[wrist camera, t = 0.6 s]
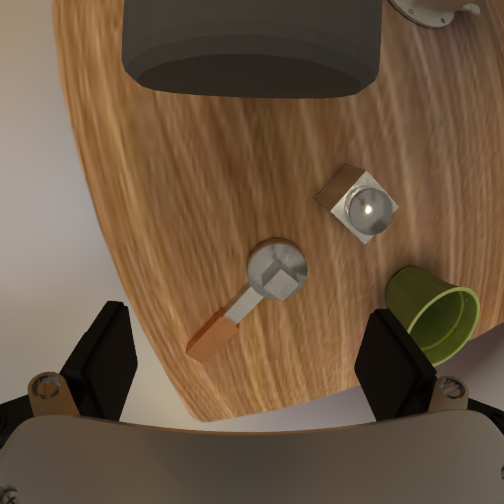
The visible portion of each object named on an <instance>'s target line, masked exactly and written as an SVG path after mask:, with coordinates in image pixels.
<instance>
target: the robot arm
mask: <svg viewBox="0 0 504 504" xmlns="http://www.w3.org/2000/svg"><path fill="white" fill-rule="evenodd" d="M389 1H390V2H391V4H392V5H393V6H394V7H395V8H396V9H397V10H398V11H399V12H401V13H402V14H403V15H404V16H406V17H407V18H409V19H410V20H412V21H413V22H415V23H417V24H419V25H422V26H425V27H429V28H440V27H444V26H446V25H448V24H449V23H450V22H451V21H452V20H453V18H454V14H455V11H457V10H459V11H466V12H468V13H470V14H473V15H475V16H478V15H479V14H480V8H479V7H478V6H477V5H475V4H473V3H472V2H475V1H477V0H389ZM137 362H138V361H137V356H136V350H135V345H134V340H133V334H132V329H131V323H130V317H129V310H128V307H127V306H124V304H123V302H118V301H107V303H106V304H105V305H104V307H103V308H102V310H101V311H100V313H99V314H98V316H97V317H96V319H95V320H94V322H93V323H92V325H91V326H90V328H89V329H88V331H87V332H85V333H84V335H83V336H82V338H81V339H80V341H79V342H78V344H77V345H76V347H75V349H74V350H73V352H72V353H71V355H70V356H69V358H68V360H67V361H66V363H65V365H64V366H63V368H62V370H61V371H60V373H55V372H44V373H41V374H38V375H36V376H35V377H34V378H32V380H31V381H30V383H29V385H28V394H27V395H25V396H22V397H19V398H17V399H14V400H11V401H8V402H5V403H3V404H0V504H504V412H503V411H501V410H499V409H497V408H494V407H491V406H489V405H486V404H483V403H481V402H478V401H476V400H473V399H470V398H468V395H469V391H468V388H467V386H466V384H465V383H464V382H462V381H461V380H460V379H458V378H456V377H453V376H442V377H440V378H439V379H437V377H436V376H435V374H436V373H437V371H436V370H435V368H434V367H433V365H432V364H431V363H430V361H429V360H428V359H427V357H426V356H425V354H424V353H423V352H422V350H421V349H420V348H419V346H418V345H417V344H416V342H415V341H414V340H413V338H412V337H411V336H410V335H409V333H408V332H407V331H406V329H405V328H404V327H403V325H402V324H401V323H400V322H399V320H398V319H397V318H396V316H395V315H394V314H393V313H392V311H391V310H390V309H376V310H375V311H374V312H373V313H371V314H370V316H369V319H368V323H367V326H366V330H365V333H364V337H363V340H362V343H361V346H360V350H359V353H358V356H357V359H356V362H355V366H354V370H355V373H356V376H357V378H358V380H359V382H360V385H361V387H362V389H363V391H364V394H365V396H366V398H367V400H368V403H369V405H370V407H371V409H372V412H373V414H374V416H375V419H376V421H377V422H371V423H364V424H358V425H350V426H342V427H334V428H324V429H313V430H301V431H281V432H216V431H198V430H184V429H174V428H164V427H156V426H148V425H140V424H132V423H126V422H119V419H120V416H121V413H122V410H123V407H124V404H125V401H126V398H127V395H128V392H129V389H130V387H131V384H132V381H133V378H134V375H135V372H136V370H137V365H138V363H137Z"/></svg>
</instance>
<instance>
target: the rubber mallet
mask: <svg viewBox="0 0 504 504" xmlns="http://www.w3.org/2000/svg"><path fill="white" fill-rule="evenodd" d="M381 20H382V0H125V1H124V15H123V33H122V63H123V66H124V69H125V71H126V72H127V73H128V74H129V75H130V76H131V77H132V78H133V79H134V80H135V81H136V82H138V83H139V84H140V85H141V86H143V87H147V88H150V89H153V90H158V91H165V92H171V93H181V94H192V95H209V96H228V97H255V98H332V97H343V96H348V95H354V94H356V93H358V92H359V91H361V90H362V89H364V88H365V87H367V86H368V85H369V84H371V83H372V82H374V81H375V79H376V77H377V74H378V72H379V60H380V44H381Z"/></svg>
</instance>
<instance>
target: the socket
mask: <svg viewBox="0 0 504 504" xmlns="http://www.w3.org/2000/svg"><path fill="white" fill-rule="evenodd" d="M315 199H316V200H317V201H318V202H319V203H320V204H321V205H322V206H324V207H325V208H326V209H327V210H328V211H329V212H330V213H331V214H332V215H333V216H334V217H335V218H336V219H337V220H338V221H340V222H341V223H342V224H343V225H344V226H345V227H346V228H347V229H348V230H349V231H350V232H351V233H353V234H354V235H355V236H356V237H357V238H358V239H359V240H360V241H361V242H362V243H364V244H365V245H366V243H367V242H368V241H369V240H370V239H371V238H372V237H373V236H374V235H376V234H379V233H380V232H382V231H383V230H385V229H386V228H387V226H388V225H389V223H390V221H391V219H392V215H393V213H394V212H395V211H396V210H397V208H398V205H397V204H396V203H395V202H394V201H393V200H392V198H391V197H390V196H389V195H388V194H387V193H386V192H385V191H384V189H383V188H382V187H381V186H380V185H379V184H378V183H377V182H376V181H375V179H374V178H373V177H372V176H371V175H370V174H369V173H368V172H367V171H366V170H363V169H359V168H356V167H352V166H349V165H345V164H344V166H343V167H342V168H341V169H340V170H339V171H338V172H337V173H336V175H335V176H334V177H333V178H332V179H331V180H330V181H329V182H328V184H327V185H326V186H325V187H324V188H323V189H322V190H321V191H320V193H319V194H318V195H317V196H316V197H315Z"/></svg>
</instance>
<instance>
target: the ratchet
mask: <svg viewBox="0 0 504 504" xmlns="http://www.w3.org/2000/svg"><path fill="white" fill-rule="evenodd" d="M247 270H248V279H249V282H248V283H247V284H246V285H245V286H244V287H243V288H242V289H241V290H240V292H239V293H238V294H237V295H236V296H235V297H234V298H233V299H232V300H231V301H230V302H229V303H228V304H227V306H226V307H225V308H222V307H221V308H220V309H219V310H218V311H217V312H216V313H215V314H214V315H213V316H212V317H211V319H210V320H209V321H208V322H207V323H206V324H205V325H204V326H203V327H202V328H201V329H200V330H199V331H198V332H197V334H196V335H195V336H194V337H193V338H192V339H191V340H190V341H189V342H188V344H187V348H186V353H185V354H187V355H189V356H190V357H192V358H194V359H195V360H197V361H199V362H200V363H202V364H204V363H205V362H206V361H207V360H208V359H209V358H210V357H211V356H212V355H213V354H214V353H215V352H216V351H217V350H218V349H219V348H220V347H221V346H222V345H224V344H225V343H226V342H227V341H228V340H229V339H230V338H231V337H232V336H233V335H234V334H235V333H236V332H237V331H238V330H239V322H240V321H241V320H242V319H243V318H244V317H245V316H246V315H247V314H248V313H249V312H250V311H251V310H252V309H253V308H254V307H255V306H256V305H257V304H258V303H259V302H260V301H261V300H262V299H263V297H265V298H268V299H279V300H281V301H282V302H283V301H284V300H285V299H286V298H287V297H289V296H291V295H293V294H295V293H296V292H297V291H298V290H299V289H300V288H301V287H302V286H303V284H304V282H305V280H306V277H307V264H306V261H305V259H304V257H303V255H302V254H301V252H300V250H299V249H298V247H297V246H296V245H295V244H293V243H292V242H290V241H289V240H286V239H282V238H271V239H267V240H265V241H262V242H261V243H259V244H258V245H257V246H256V247H254V249H253V250H252V251H251V253H250V255H249V257H248V262H247Z"/></svg>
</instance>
